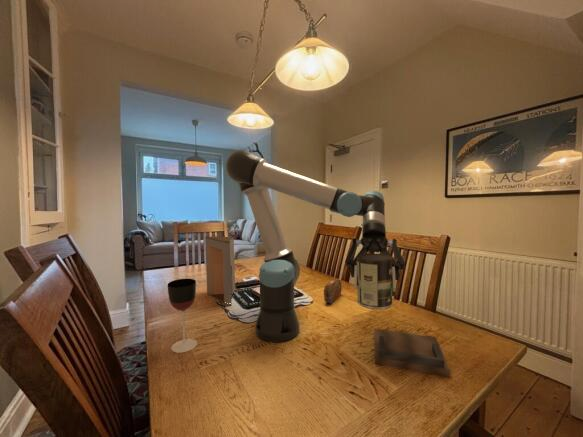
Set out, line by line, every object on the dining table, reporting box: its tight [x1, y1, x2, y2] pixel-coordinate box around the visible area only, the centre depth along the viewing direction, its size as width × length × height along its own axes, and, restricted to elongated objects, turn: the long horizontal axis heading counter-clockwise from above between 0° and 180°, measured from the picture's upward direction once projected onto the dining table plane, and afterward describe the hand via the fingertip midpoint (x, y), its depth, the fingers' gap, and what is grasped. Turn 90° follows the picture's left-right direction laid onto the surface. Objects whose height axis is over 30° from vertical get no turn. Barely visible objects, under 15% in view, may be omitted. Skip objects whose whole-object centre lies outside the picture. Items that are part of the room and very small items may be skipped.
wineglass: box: [167, 278, 198, 354], centre depth 79 cm, size 8×9×20 cm
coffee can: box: [355, 252, 394, 311], centre depth 77 cm, size 10×10×14 cm
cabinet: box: [204, 236, 236, 308], centre depth 119 cm, size 21×10×28 cm, turn 42°
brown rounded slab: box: [323, 279, 342, 305], centre depth 115 cm, size 15×3×8 cm, turn 148°
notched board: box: [374, 328, 451, 378], centre depth 75 cm, size 18×16×4 cm
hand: (374, 288), depth 74 cm, fingers closed on coffee can, 10 cm apart
